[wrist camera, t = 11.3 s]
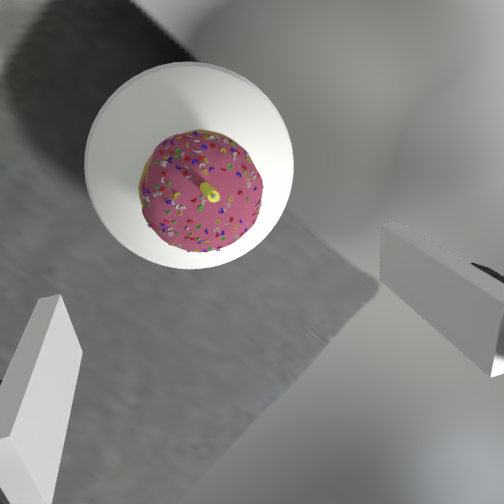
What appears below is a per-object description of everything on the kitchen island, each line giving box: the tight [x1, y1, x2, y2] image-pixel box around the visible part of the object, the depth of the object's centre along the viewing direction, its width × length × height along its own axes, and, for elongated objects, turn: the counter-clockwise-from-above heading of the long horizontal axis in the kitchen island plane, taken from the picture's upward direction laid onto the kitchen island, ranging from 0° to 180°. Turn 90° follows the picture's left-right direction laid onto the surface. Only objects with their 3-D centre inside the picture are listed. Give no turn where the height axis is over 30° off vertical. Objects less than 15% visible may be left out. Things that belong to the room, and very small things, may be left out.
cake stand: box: [84, 62, 294, 269], centre depth 35 cm, size 17×17×7 cm
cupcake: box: [138, 129, 264, 253], centre depth 27 cm, size 9×8×12 cm
